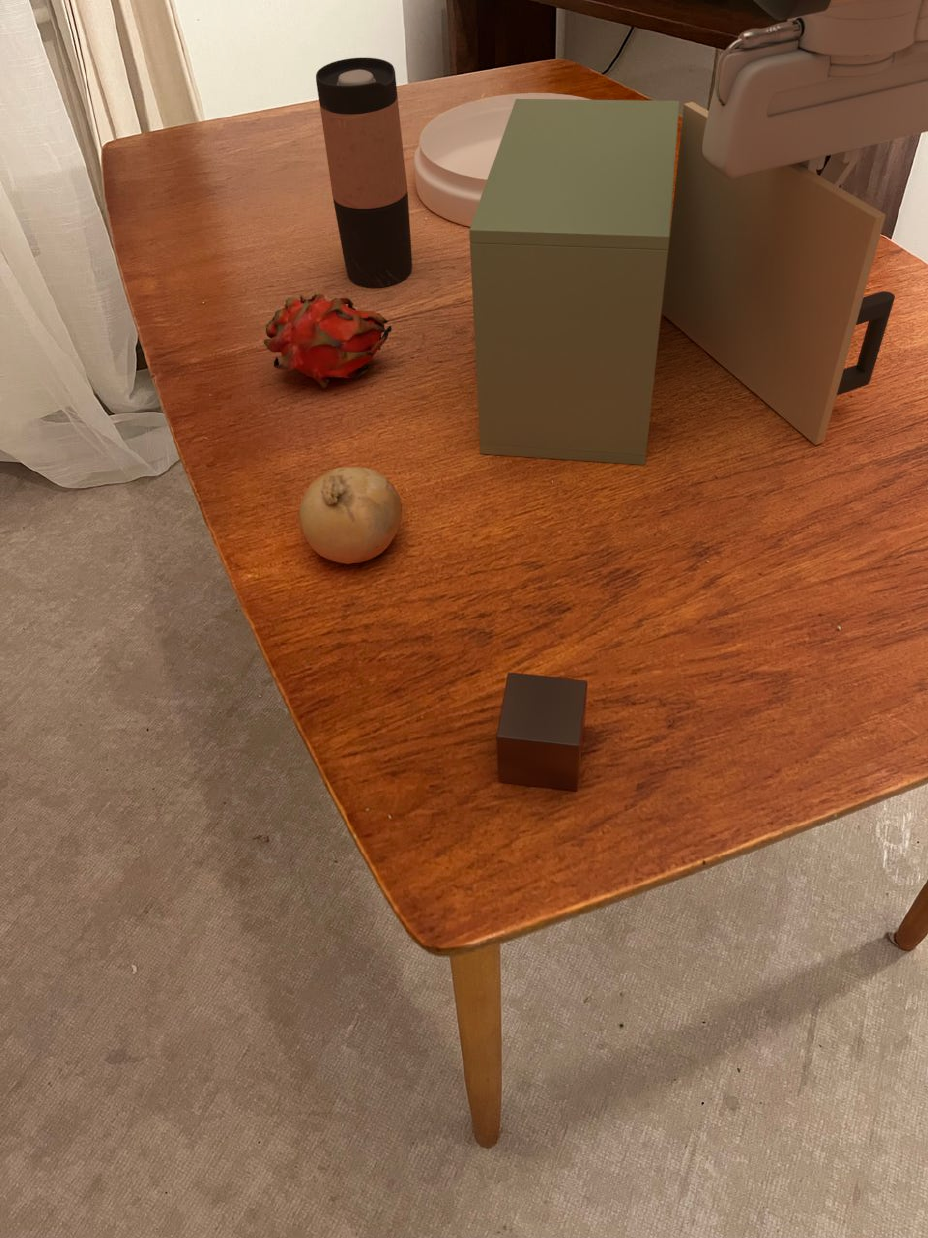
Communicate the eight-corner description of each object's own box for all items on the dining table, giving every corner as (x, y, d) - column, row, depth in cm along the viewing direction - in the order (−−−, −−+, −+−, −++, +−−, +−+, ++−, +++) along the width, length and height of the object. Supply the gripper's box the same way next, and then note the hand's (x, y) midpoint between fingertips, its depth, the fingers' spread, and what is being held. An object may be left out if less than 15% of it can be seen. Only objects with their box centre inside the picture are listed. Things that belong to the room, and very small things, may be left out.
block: (584, 727, 64) (587, 680, 61) (577, 792, 61) (580, 746, 57) (509, 719, 65) (507, 671, 61) (498, 782, 62) (495, 736, 58)
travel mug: (337, 261, 108) (307, 64, 93) (404, 248, 109) (384, 51, 95) (353, 294, 103) (323, 91, 88) (423, 280, 104) (405, 77, 90)
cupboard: (657, 313, 98) (679, 100, 83) (644, 465, 82) (669, 236, 67) (518, 306, 100) (515, 98, 85) (480, 454, 84) (468, 229, 69)
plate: (612, 244, 108) (615, 194, 104) (383, 220, 114) (378, 173, 110) (657, 143, 125) (661, 97, 121) (456, 127, 131) (453, 83, 127)
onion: (300, 518, 80) (284, 449, 75) (396, 500, 81) (386, 430, 75) (312, 586, 74) (295, 517, 69) (414, 566, 75) (406, 496, 70)
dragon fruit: (265, 391, 95) (388, 388, 97) (265, 386, 87) (400, 383, 89) (259, 299, 93) (384, 298, 96) (259, 285, 85) (396, 285, 87)
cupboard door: (717, 296, 99) (748, 87, 84) (878, 422, 84) (950, 194, 69) (660, 313, 97) (683, 103, 83) (815, 445, 82) (876, 217, 68)
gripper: (747, 49, 63) (720, 253, 73) (1009, -7, 67) (948, 194, 77) (698, 22, 67) (678, 219, 77) (947, -29, 71) (897, 164, 81)
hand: (815, 206), depth 77 cm, fingers closed
